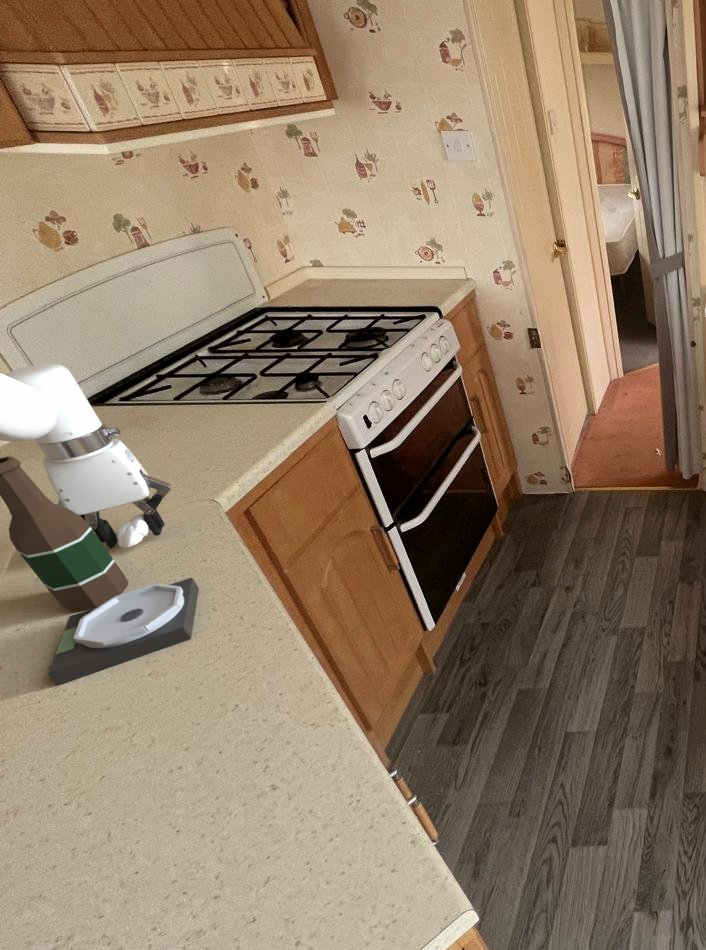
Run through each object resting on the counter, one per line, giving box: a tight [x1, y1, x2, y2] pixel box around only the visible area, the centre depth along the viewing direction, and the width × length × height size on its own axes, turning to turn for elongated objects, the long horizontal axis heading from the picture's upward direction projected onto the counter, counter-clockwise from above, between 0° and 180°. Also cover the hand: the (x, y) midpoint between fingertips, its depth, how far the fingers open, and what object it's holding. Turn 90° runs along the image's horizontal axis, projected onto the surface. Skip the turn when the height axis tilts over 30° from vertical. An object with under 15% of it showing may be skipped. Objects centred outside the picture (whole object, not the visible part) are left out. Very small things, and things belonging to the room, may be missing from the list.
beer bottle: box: [0, 456, 129, 613], centre depth 97 cm, size 8×8×24 cm
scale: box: [46, 577, 200, 686], centre depth 95 cm, size 14×13×4 cm
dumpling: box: [110, 513, 151, 549], centre depth 113 cm, size 7×5×4 cm
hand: (136, 536), depth 114 cm, fingers closed on dumpling, 5 cm apart
